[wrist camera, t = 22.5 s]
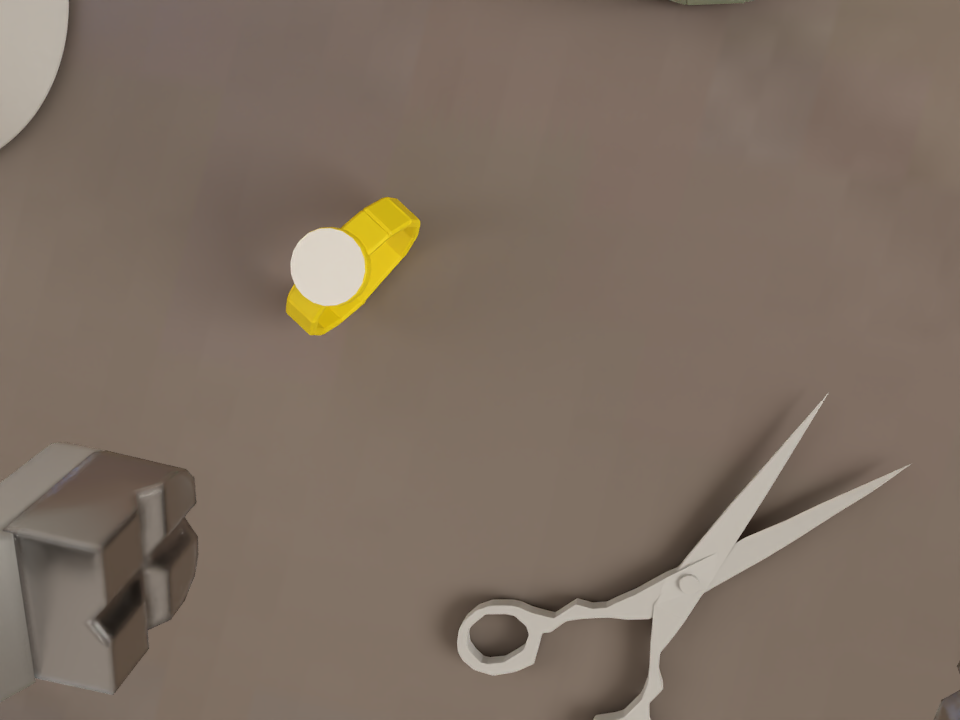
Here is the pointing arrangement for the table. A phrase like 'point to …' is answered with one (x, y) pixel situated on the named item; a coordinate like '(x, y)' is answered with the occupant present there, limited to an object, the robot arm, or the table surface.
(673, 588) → the scissors
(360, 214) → the watch
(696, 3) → the bowl
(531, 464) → the table surface
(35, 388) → the table surface
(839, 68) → the table surface
